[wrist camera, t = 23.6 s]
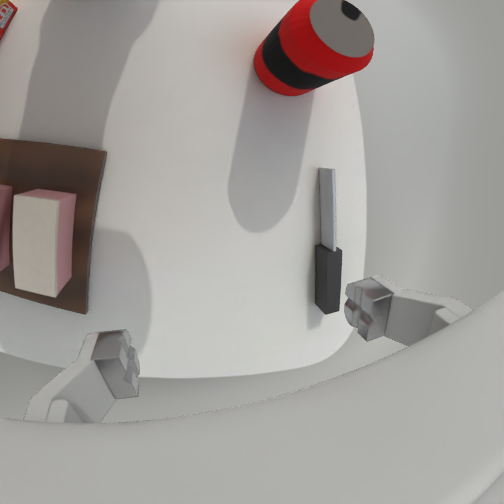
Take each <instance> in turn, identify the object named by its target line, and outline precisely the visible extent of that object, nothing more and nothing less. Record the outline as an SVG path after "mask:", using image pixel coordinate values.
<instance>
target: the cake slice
mask: <svg viewBox="0 0 504 504" xmlns="http://www.w3.org/2000/svg"><path fill="white" fill-rule="evenodd" d="M75 203H76V194H73V193H66V192H58V191H50V190H43V189H36V190H32V191H28V192H24V193H21V194H17V195H14V204H13V265H14V279H15V288H17V289H21V290H25V291H29V292H34V293H38V294H42V295H46V296H51V297H56V296H57V295H58V293H59V292H60V291H61V290H62V288H63V287H64V286H65V284H66V283H67V282H68V281H69V279H70V278H71V277H72V239H73V224H74V213H75Z"/></svg>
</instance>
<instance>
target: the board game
mask: <svg viewBox="0 0 504 504" xmlns="http://www.w3.org/2000/svg"><path fill="white" fill-rule="evenodd" d="M16 11H17V8H16V7H15V6H14V5H13V4H12V3H11V2H10V1H9V0H0V39H1V37H2V35H3V33H4V31H5V30H6V28H7V26H8V24H9V22H10V21H11V19H12V17H13V16H14V14H15V12H16Z"/></svg>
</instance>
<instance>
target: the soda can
mask: <svg viewBox="0 0 504 504" xmlns="http://www.w3.org/2000/svg"><path fill="white" fill-rule="evenodd" d="M373 45H374V33H373V30H372V27H371V25H370V23H369V21H368V20H367V18H366V17H365V16H364V14H363V13H362V12H361V11H360V10H358V8H356V7H355V6H354V5H352V4H350V3H348V2H347V1H345V0H300V1H298V2H297V3H296V4H295V5H294V6H293V7H292V8H291V9H290V10H289V11H288V13H287V14H286V15H285V16H284V17H283V18H282V19H281V21H280V22H279V23H278V24H277V25H276V26H275V28H274V29H273V30H272V31H271V32H270V33H269V35H268V36H267V37H266V38H265V40H264V41H263V42H262V43H261V44H260V46H259V47H258V49H257V50H256V53H255V57H254V65H255V69H256V72H257V74H258V76H259V78H260V79H261V81H262V82H263V83H264V84H265V85H266V86H267V87H269V88H270V89H271V90H273V91H275V92H277V93H279V94H282V95H287V96H298V95H302V94H305V93H307V92H309V91H311V90H314V89H316V88H318V87H320V86H323V85H325V84H327V83H330V82H332V81H335V80H337V79H339V78H342V77H344V76H347V75H349V74H352V73H354V72H357V71H360V70H362V69H363V68H364V67H366V66H367V65H368V63H369V62H370V60H371V58H372V55H373V50H374V48H373Z"/></svg>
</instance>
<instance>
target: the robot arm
mask: <svg viewBox="0 0 504 504" xmlns="http://www.w3.org/2000/svg"><path fill="white" fill-rule="evenodd" d="M345 294H346V296H347V297H348V299H347V301H346V303H345V305H344V313H345V317H346V319H347V321H348V323H349V324H350V325H351V326H353V327H356V328H358V333H359V334H360V335H361V336H362V337H363V338H364V339H365V340H366V341H370V340H373V339H376V338H379V337H381V336H384V335H385V337H387V338H390V339H392V340H394V341H397V342H399V343H402V344H404V345H406V346H408V347H406V348H405V349H402V350H400V351H398V352H396V353H394V354H392V355H389V356H387V357H385V358H383V359H380V360H378V361H376V362H373V363H371V364H369V365H366V366H364V367H361V368H359V369H356V370H354V371H351V372H348V373H346V374H343V375H341V376H338V377H335V378H332V379H329V380H327V381H324V382H321V383H318V384H315V385H312V386H309V387H306V388H303V389H300V390H297V391H293V392H290V393H286V394H283V395H279V396H276V397H272V398H268V399H265V400H261V401H257V402H253V403H249V404H245V405H240V406H235V407H231V408H226V409H221V410H216V411H211V412H205V413H199V414H194V415H187V416H180V417H173V418H165V419H156V420H146V421H136V422H135V421H134V422H121V423H120V422H118V423H101V421H102V420H103V418H104V417H105V415H106V414H107V413H108V411H109V410H110V408H111V407H112V405H113V404H114V403H115V401H116V400H115V399H123V398H132V397H138V391H139V382H138V380H137V376H138V375H139V374H140V365H139V359H138V355H137V352H136V350H135V348H133V347H132V346H131V345H130V344H131V337H130V335H129V332H128V331H127V330H126V329H121V330H113V331H104V332H95V333H89V334H87V335H86V337H85V339H84V342H83V345H82V347H81V350H80V353H79V356H78V359H77V362H72V363H71V364H70V365H69V366H67V367H66V368H65V369H64V370H63V371H62V372H60V373H59V374H58V375H57V376H56V377H54V378H53V379H52V380H51V381H50V382H49V383H47V384H46V385H45V386H44V387H43V388H42V389H41V390H39V391H38V392H37V393H36V394H35V395H34V396H32V397H31V399H30V402H29V405H28V407H27V410H26V413H25V416H24V419H23V420H19V419H11V418H4V417H0V504H504V290H503V291H502V292H500V293H499V294H497V295H496V296H494V297H493V298H492V299H490V300H489V301H487V302H486V303H484V304H483V305H481V306H480V307H478V308H477V309H475V310H472V309H470V308H469V307H467V306H466V305H464V304H463V303H461V302H460V301H458V300H456V299H452V298H446V297H442V296H437V295H432V294H427V293H422V292H417V291H412V290H403V289H402V288H400V287H399V286H398V285H396V284H395V283H393V282H391V281H390V280H388V279H387V278H385V277H384V276H383V275H375V276H372V277H370V278H367V279H363V280H360V281H356V282H353V283H350V284H347V287H346V292H345Z"/></svg>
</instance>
